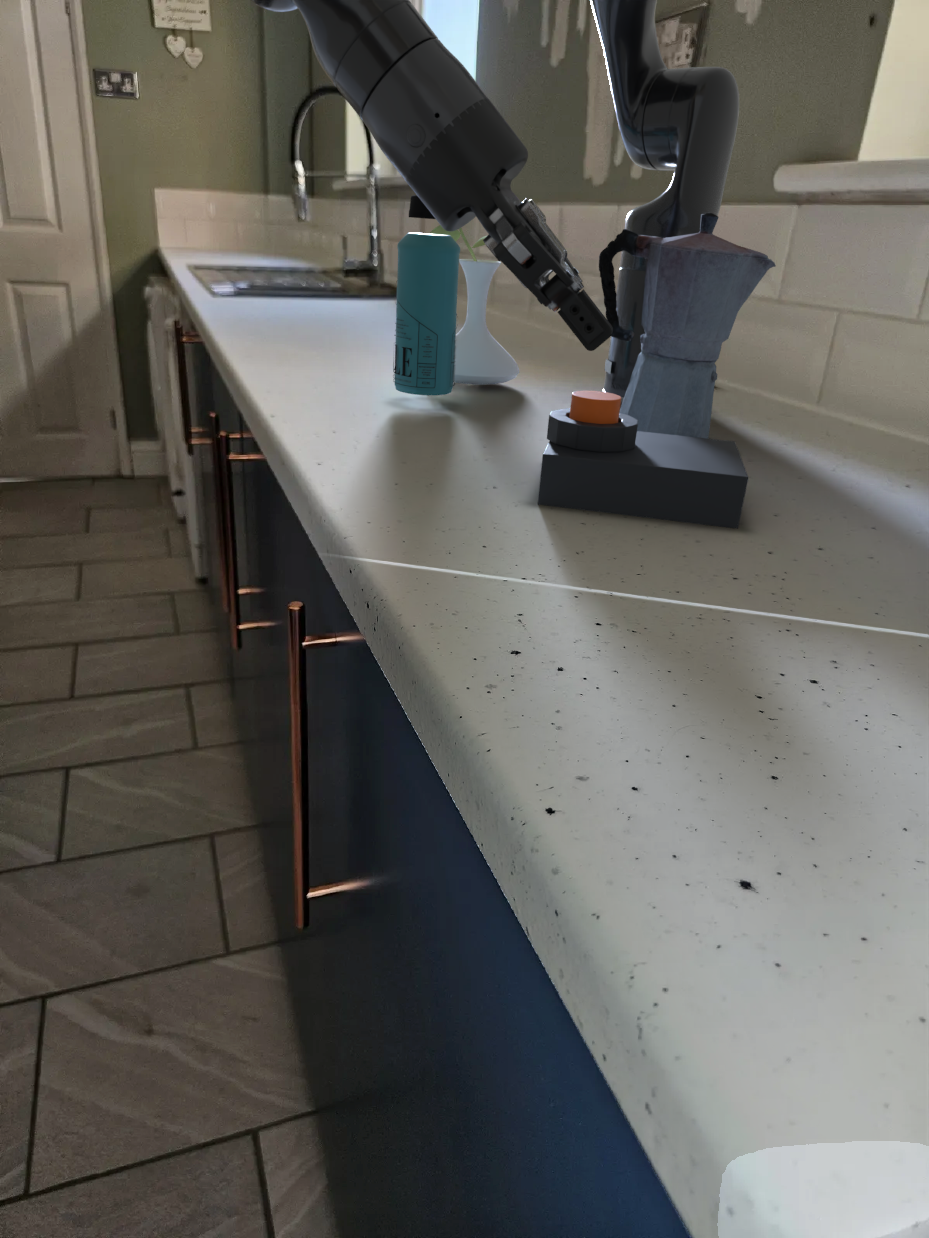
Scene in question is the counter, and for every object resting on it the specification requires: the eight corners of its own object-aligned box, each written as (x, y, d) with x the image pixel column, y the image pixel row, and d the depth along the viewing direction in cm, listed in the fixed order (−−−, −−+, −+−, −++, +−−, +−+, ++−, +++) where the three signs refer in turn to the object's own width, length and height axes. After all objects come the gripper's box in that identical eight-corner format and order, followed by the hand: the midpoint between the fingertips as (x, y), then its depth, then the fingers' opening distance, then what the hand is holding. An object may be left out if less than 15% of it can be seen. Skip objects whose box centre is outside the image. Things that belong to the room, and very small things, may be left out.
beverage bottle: (464, 405, 93) (478, 198, 85) (429, 413, 88) (440, 194, 80) (415, 395, 96) (423, 195, 88) (378, 403, 91) (383, 191, 83)
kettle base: (533, 504, 62) (541, 427, 60) (550, 466, 72) (557, 399, 70) (737, 529, 60) (754, 450, 58) (726, 486, 70) (739, 418, 68)
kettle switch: (566, 425, 63) (570, 397, 62) (571, 415, 66) (574, 388, 66) (616, 430, 63) (620, 402, 62) (618, 420, 66) (622, 393, 65)
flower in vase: (529, 381, 109) (550, 157, 99) (501, 395, 100) (520, 148, 89) (434, 369, 113) (444, 152, 103) (397, 381, 103) (404, 143, 93)
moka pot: (742, 459, 79) (792, 217, 70) (573, 440, 81) (601, 204, 73) (734, 437, 87) (777, 218, 79) (581, 420, 90) (607, 206, 81)
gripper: (466, 80, 51) (644, 315, 55) (501, 107, 63) (646, 299, 67) (378, 175, 55) (552, 392, 58) (427, 183, 66) (569, 363, 70)
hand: (602, 342), depth 62 cm, fingers closed
